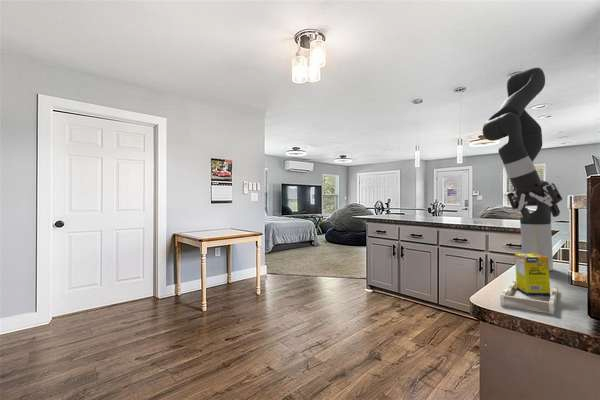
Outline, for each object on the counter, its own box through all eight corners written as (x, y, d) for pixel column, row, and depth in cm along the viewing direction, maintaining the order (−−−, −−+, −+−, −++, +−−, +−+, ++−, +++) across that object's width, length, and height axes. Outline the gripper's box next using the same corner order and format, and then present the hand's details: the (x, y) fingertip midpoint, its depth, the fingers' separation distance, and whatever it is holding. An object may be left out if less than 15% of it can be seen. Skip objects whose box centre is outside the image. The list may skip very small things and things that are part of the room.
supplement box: (551, 296, 83) (549, 256, 84) (526, 295, 85) (524, 257, 85) (538, 290, 89) (536, 253, 89) (516, 289, 91) (514, 253, 91)
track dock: (513, 285, 94) (512, 277, 94) (557, 291, 87) (557, 282, 87) (500, 305, 78) (500, 295, 78) (553, 314, 71) (553, 303, 71)
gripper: (551, 162, 94) (573, 210, 93) (507, 174, 107) (526, 215, 107) (538, 170, 91) (560, 219, 91) (494, 181, 104) (513, 223, 104)
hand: (542, 217), depth 99 cm, fingers open, 8 cm apart
